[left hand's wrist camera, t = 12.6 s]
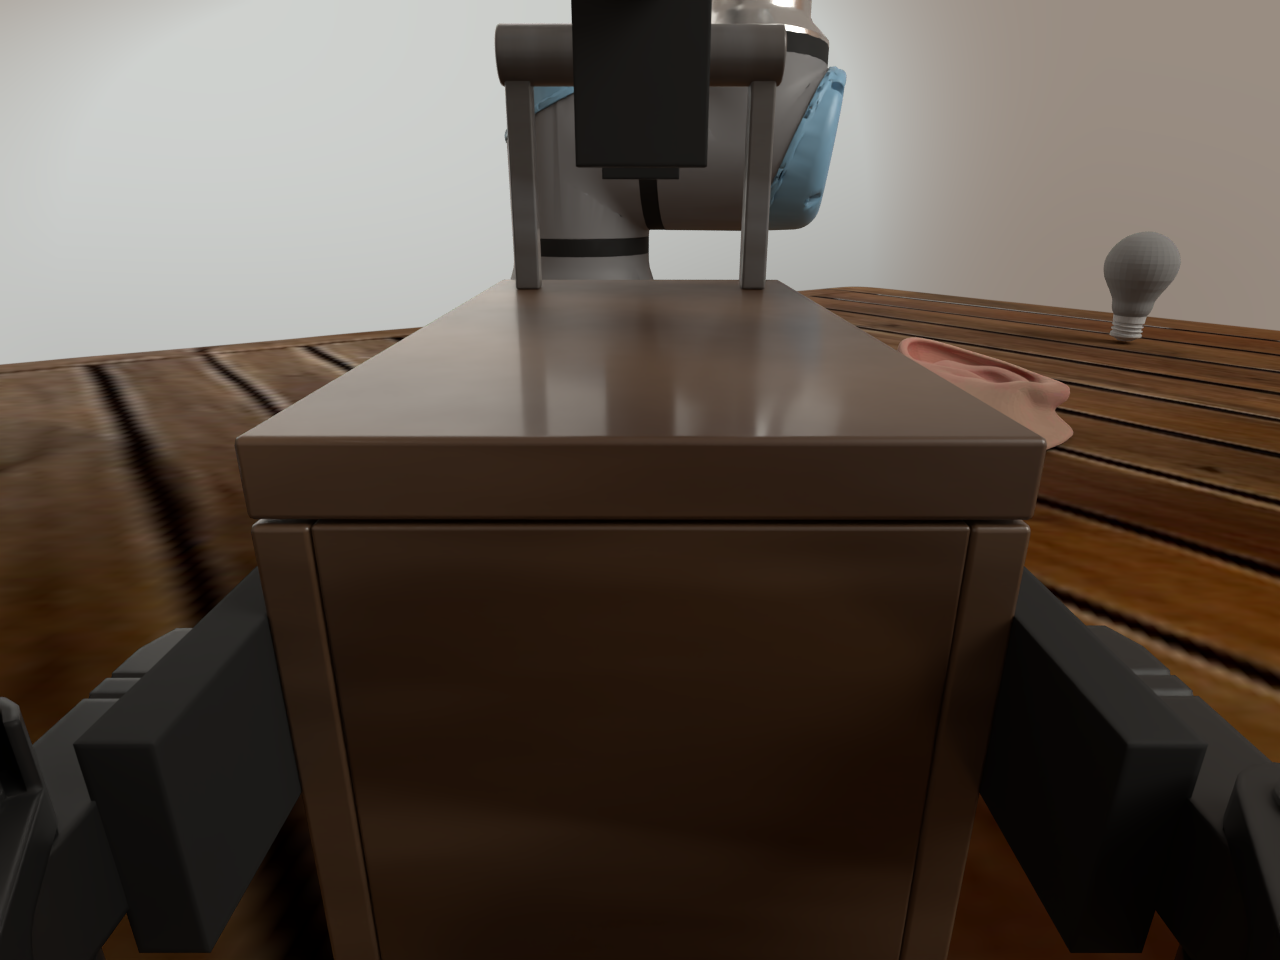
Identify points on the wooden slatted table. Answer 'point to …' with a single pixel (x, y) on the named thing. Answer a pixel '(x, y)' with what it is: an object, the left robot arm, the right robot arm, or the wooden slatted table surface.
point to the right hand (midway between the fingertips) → (640, 175)
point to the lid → (640, 383)
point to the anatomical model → (997, 385)
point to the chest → (640, 730)
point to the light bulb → (1138, 279)
